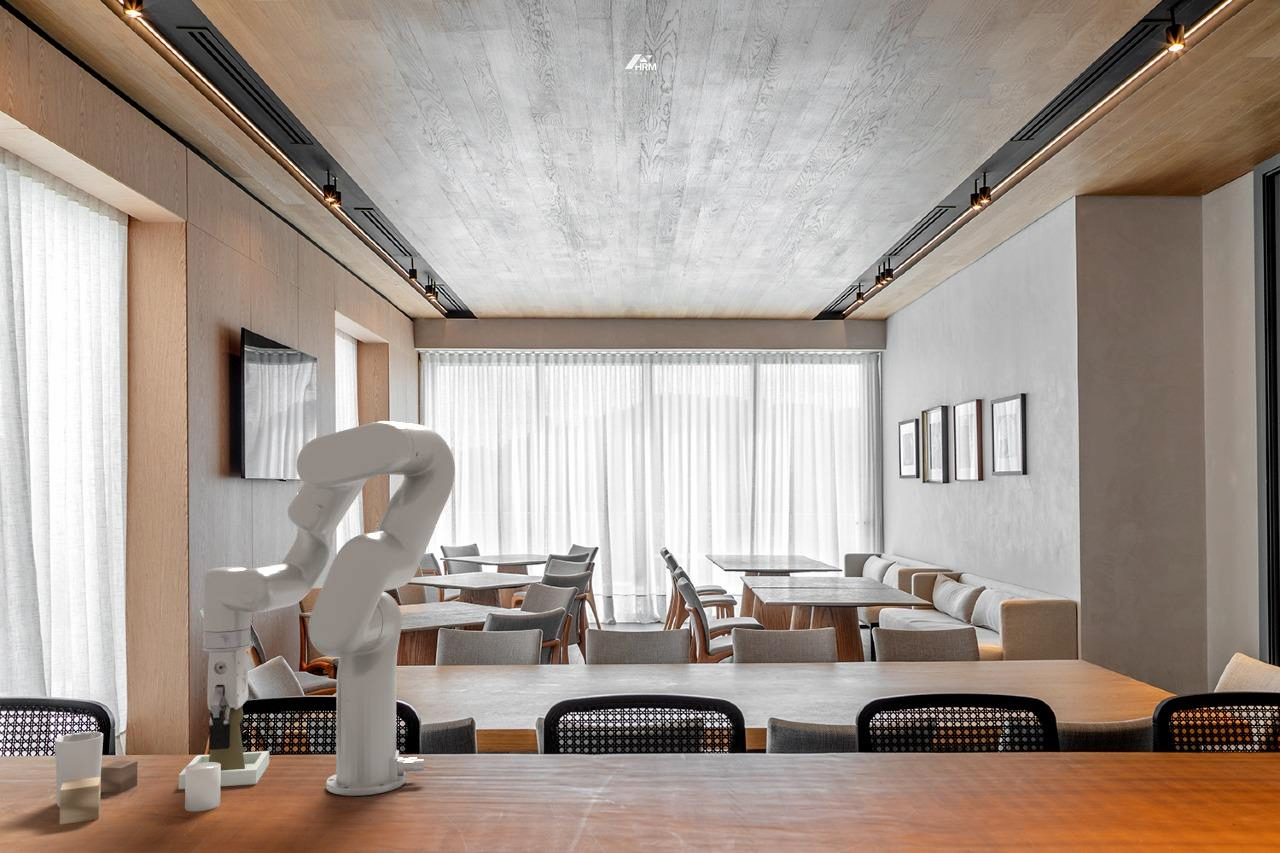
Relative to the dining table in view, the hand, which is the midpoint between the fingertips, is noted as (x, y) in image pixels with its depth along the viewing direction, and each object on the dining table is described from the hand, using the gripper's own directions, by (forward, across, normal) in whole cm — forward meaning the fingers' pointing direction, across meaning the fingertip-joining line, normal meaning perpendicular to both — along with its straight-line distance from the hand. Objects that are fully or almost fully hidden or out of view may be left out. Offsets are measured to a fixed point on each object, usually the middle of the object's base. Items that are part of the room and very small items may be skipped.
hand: (226, 741), depth 169 cm
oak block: (+6, -17, +17) cm, 25 cm away
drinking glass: (+6, -9, +20) cm, 23 cm away
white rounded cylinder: (+6, -16, 0) cm, 17 cm away
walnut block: (+6, -3, +16) cm, 17 cm away
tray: (+6, 0, 0) cm, 6 cm away
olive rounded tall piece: (+5, 0, 0) cm, 5 cm away
